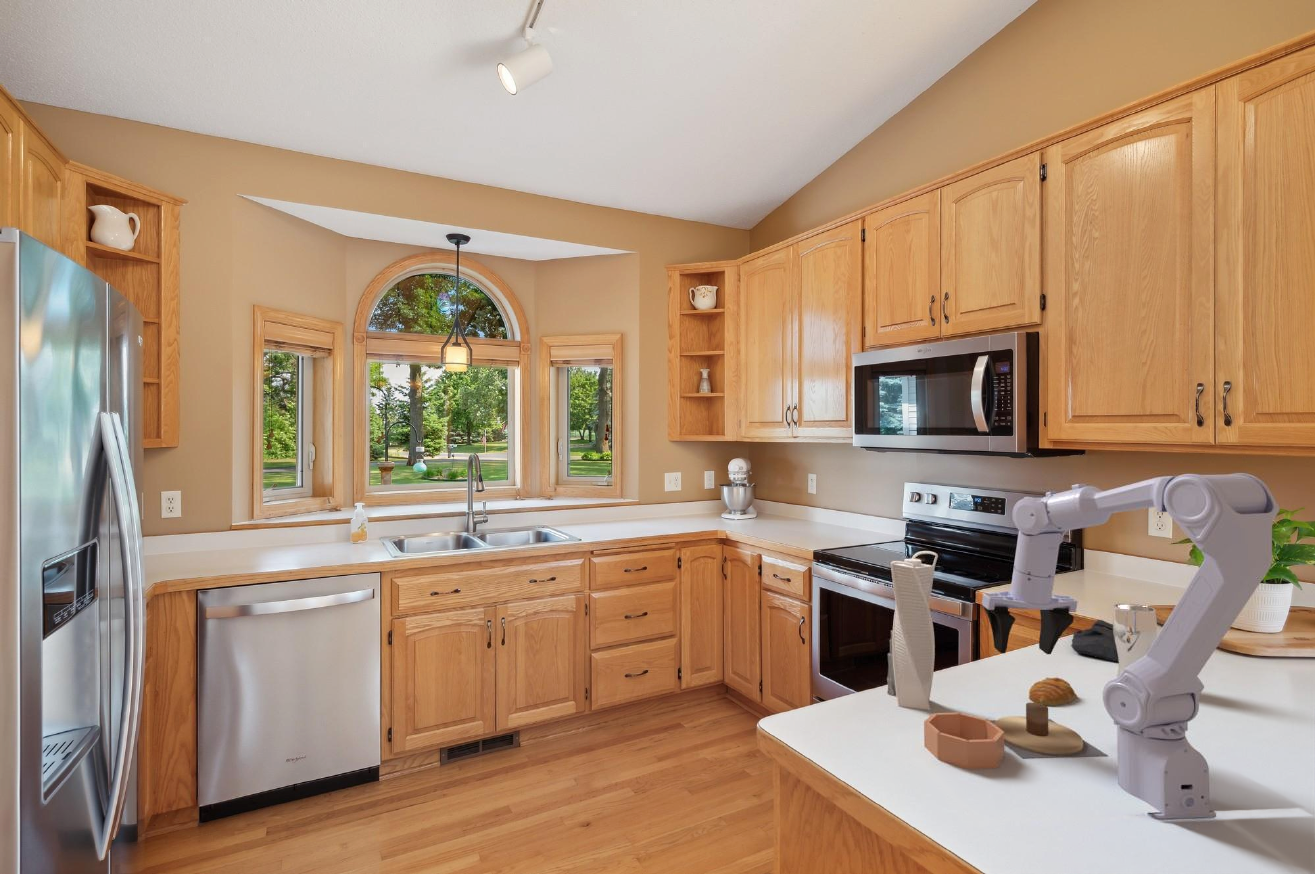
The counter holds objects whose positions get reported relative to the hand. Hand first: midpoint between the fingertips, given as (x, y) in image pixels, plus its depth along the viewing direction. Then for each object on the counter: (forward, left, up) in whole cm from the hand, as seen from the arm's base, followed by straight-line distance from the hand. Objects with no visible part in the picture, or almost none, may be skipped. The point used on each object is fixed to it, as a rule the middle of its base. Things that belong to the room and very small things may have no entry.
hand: (1022, 650), depth 106 cm
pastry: (+12, -13, -14) cm, 22 cm away
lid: (-4, 0, -12) cm, 13 cm away
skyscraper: (+11, +13, -14) cm, 22 cm away
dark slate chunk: (+41, -46, -14) cm, 64 cm away
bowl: (-8, +14, -13) cm, 21 cm away
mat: (-4, 0, -13) cm, 14 cm away
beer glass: (+19, -35, -13) cm, 42 cm away
